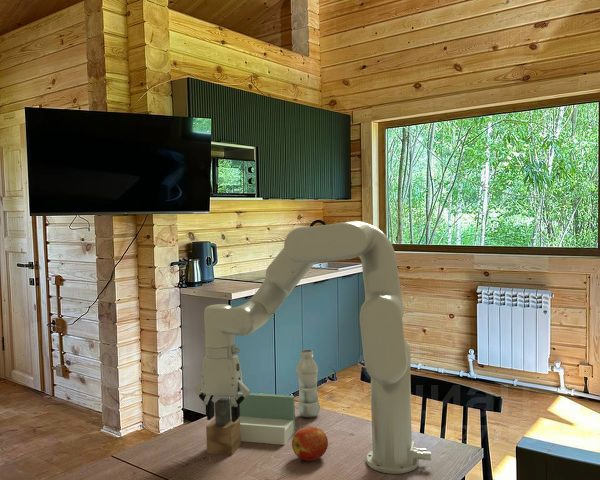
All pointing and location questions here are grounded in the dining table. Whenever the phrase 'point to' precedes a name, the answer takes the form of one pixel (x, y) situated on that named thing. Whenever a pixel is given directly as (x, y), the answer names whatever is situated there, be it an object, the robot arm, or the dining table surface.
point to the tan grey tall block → (223, 430)
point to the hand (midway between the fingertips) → (223, 418)
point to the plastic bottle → (307, 385)
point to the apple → (309, 443)
